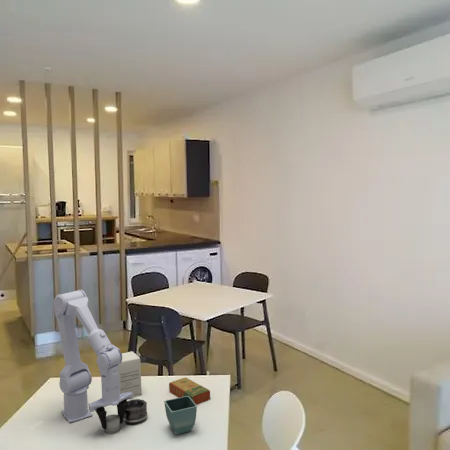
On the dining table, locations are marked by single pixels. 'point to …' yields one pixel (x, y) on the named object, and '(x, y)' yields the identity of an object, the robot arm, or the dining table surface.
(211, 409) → the dining table surface
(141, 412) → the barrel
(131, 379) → the supplement box
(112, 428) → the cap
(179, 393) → the carton
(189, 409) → the flower pot
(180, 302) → the dining table surface
